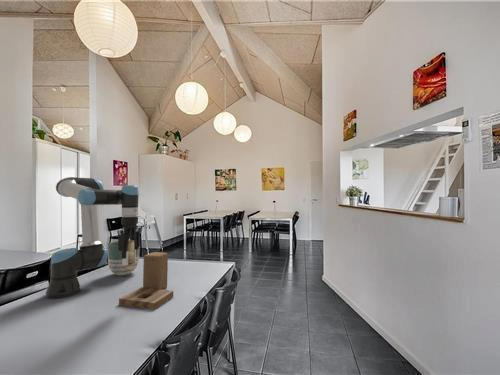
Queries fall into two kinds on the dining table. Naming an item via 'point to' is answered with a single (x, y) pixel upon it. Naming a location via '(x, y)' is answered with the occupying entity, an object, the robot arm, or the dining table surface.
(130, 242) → the peg
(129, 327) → the dining table surface
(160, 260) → the wooden block
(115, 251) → the planter
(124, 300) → the seat board
